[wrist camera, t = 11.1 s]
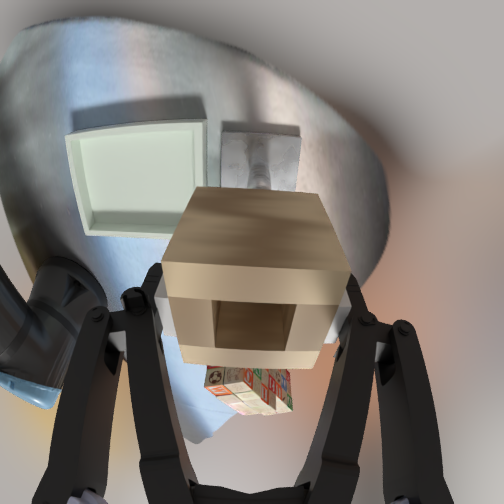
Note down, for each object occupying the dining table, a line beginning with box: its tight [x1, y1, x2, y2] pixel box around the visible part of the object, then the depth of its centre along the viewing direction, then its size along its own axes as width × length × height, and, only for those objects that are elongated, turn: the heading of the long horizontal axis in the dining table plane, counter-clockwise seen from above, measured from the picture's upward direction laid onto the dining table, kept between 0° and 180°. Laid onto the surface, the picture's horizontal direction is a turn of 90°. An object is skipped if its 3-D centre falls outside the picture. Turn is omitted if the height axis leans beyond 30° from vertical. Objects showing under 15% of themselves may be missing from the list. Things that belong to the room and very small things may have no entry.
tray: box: [65, 119, 207, 240], centre depth 28 cm, size 17×14×2 cm
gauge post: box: [221, 131, 302, 192], centre depth 24 cm, size 8×8×12 cm
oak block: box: [161, 186, 351, 369], centre depth 15 cm, size 7×7×7 cm
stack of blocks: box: [204, 365, 293, 416], centre depth 44 cm, size 21×6×12 cm, turn 25°
